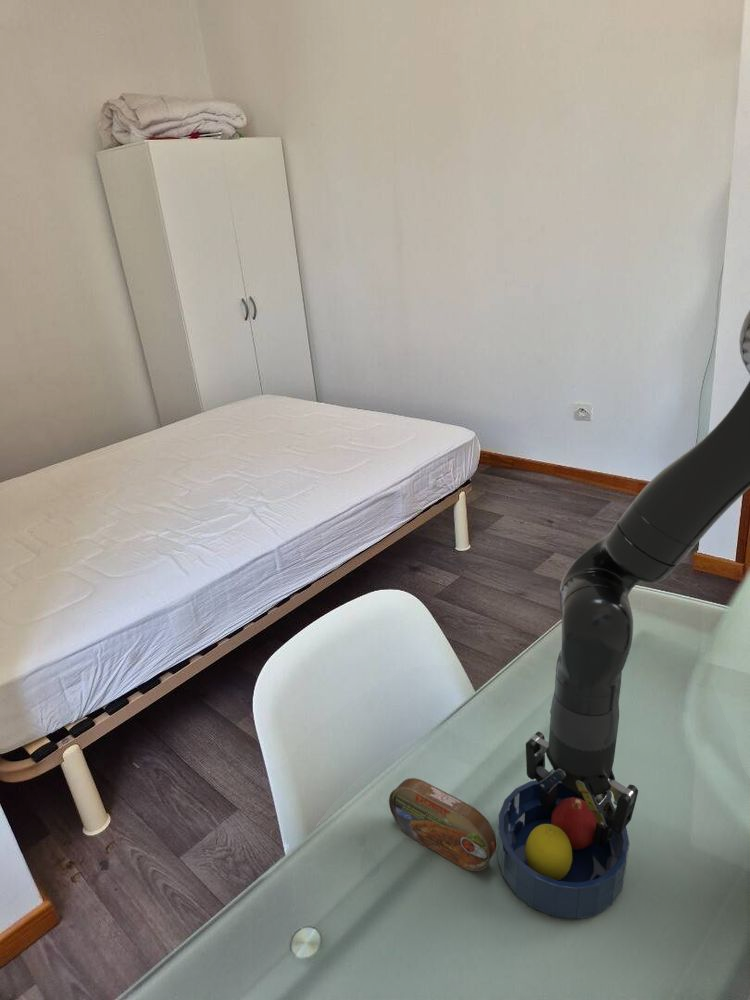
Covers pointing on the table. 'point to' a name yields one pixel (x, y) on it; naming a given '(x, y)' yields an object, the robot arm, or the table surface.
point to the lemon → (549, 851)
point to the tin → (443, 824)
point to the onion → (575, 822)
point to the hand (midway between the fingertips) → (574, 823)
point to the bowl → (591, 869)
